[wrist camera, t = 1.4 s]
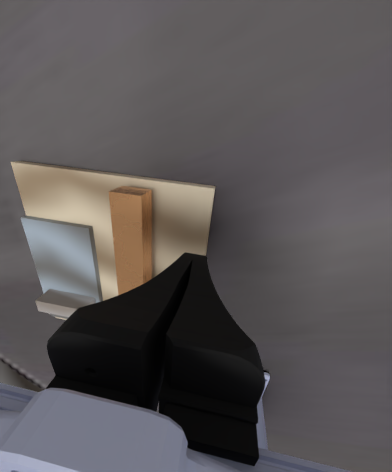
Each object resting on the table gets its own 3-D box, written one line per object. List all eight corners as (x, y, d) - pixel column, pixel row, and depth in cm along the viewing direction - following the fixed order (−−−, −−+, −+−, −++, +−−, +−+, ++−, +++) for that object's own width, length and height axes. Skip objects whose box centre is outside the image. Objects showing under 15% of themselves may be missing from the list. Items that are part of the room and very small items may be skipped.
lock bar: (155, 313, 21) (148, 329, 20) (126, 307, 22) (117, 322, 20) (156, 190, 16) (146, 196, 14) (117, 185, 16) (103, 190, 14)
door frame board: (194, 339, 25) (189, 367, 22) (61, 311, 27) (39, 334, 24) (215, 186, 17) (211, 196, 14) (21, 160, 18) (-22, 164, 15)
